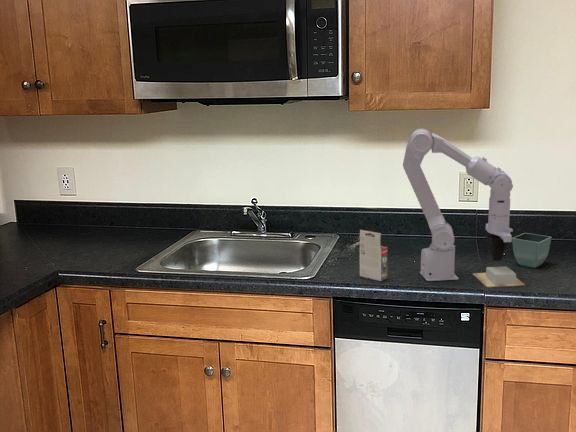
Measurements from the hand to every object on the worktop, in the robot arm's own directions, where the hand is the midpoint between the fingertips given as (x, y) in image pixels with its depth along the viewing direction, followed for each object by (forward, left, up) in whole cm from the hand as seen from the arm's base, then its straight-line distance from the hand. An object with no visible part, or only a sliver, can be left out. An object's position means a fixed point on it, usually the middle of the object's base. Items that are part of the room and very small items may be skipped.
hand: (496, 260), depth 190 cm
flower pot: (+15, +11, -6) cm, 19 cm away
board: (0, -1, -6) cm, 6 cm away
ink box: (-35, +6, -6) cm, 36 cm away
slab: (0, +1, -4) cm, 4 cm away
